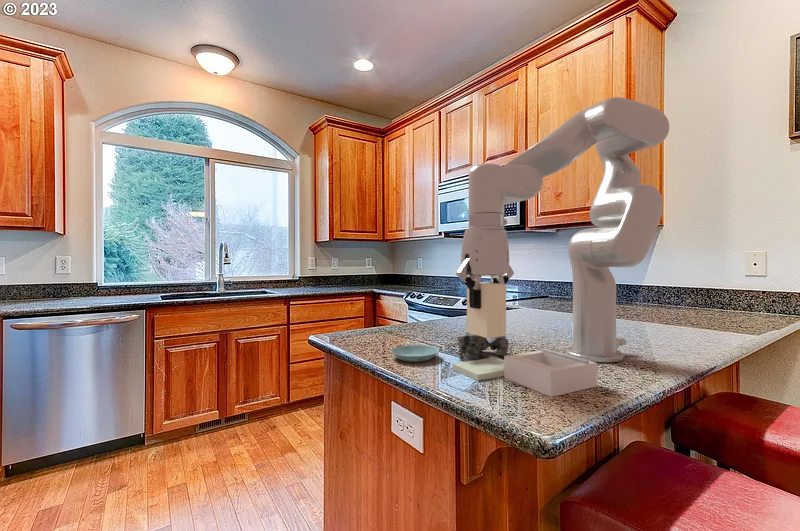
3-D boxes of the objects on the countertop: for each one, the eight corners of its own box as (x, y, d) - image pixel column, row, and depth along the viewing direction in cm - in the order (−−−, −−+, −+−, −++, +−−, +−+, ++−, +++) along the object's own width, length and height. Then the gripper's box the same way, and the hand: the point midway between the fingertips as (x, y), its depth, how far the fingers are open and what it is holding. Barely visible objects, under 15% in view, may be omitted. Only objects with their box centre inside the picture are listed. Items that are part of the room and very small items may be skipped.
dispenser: (547, 369, 83) (547, 347, 83) (596, 386, 72) (596, 360, 72) (504, 377, 77) (504, 353, 77) (550, 396, 67) (550, 368, 67)
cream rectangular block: (484, 330, 86) (485, 282, 86) (505, 335, 80) (506, 284, 80) (466, 332, 84) (466, 282, 84) (486, 338, 78) (487, 284, 78)
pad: (495, 362, 89) (495, 357, 89) (523, 372, 81) (523, 366, 81) (452, 369, 84) (452, 363, 84) (477, 380, 76) (477, 374, 76)
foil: (527, 348, 90) (479, 316, 86) (504, 387, 89) (454, 357, 85) (501, 335, 101) (458, 307, 97) (481, 371, 100) (436, 343, 96)
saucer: (381, 358, 94) (381, 349, 94) (418, 350, 102) (418, 342, 102) (411, 369, 85) (411, 359, 85) (449, 360, 92) (449, 350, 92)
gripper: (505, 226, 89) (504, 303, 89) (443, 223, 81) (443, 307, 82) (528, 223, 82) (528, 307, 82) (463, 219, 75) (463, 311, 75)
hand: (485, 306), depth 82 cm, fingers closed on cream rectangular block, 4 cm apart
